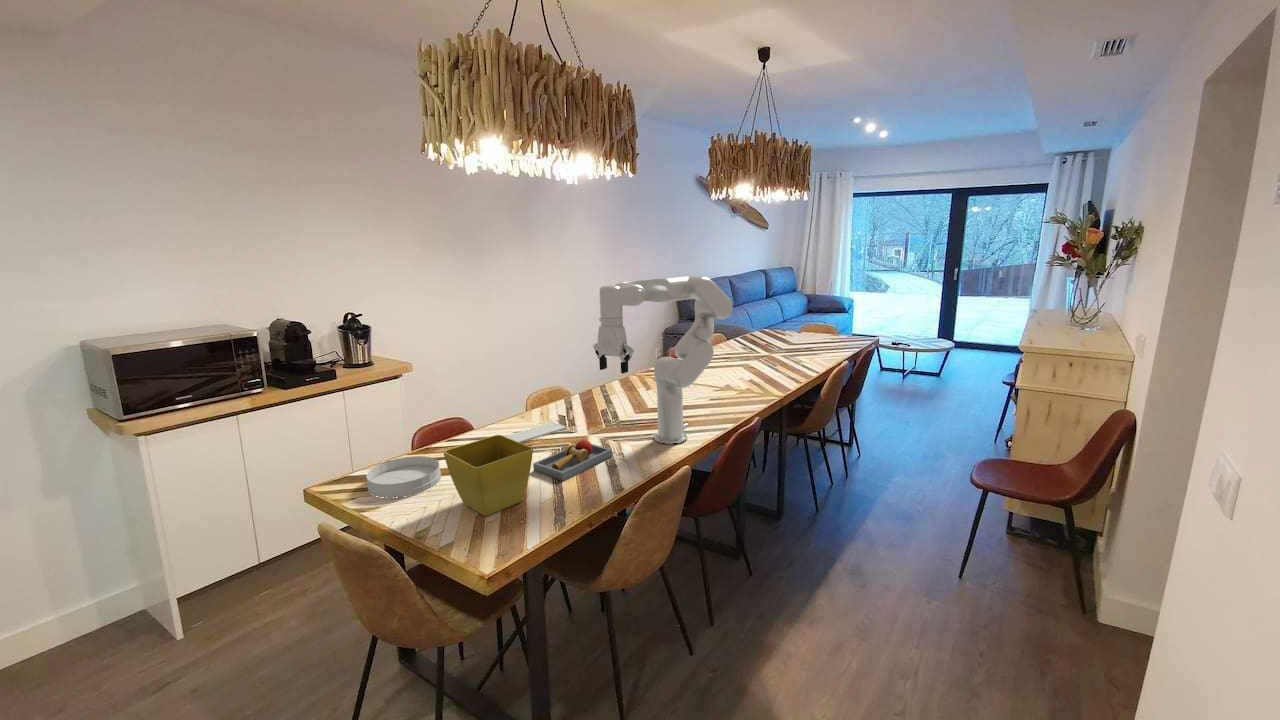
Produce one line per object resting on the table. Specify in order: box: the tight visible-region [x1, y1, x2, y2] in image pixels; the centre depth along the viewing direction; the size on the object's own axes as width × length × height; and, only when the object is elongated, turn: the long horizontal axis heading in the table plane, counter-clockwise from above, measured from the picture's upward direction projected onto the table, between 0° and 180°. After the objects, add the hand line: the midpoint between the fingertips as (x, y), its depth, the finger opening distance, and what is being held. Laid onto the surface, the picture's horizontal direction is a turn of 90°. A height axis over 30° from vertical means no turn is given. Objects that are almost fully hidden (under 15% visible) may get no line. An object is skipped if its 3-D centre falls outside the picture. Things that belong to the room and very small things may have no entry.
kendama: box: [552, 439, 592, 470], centre depth 190 cm, size 8×6×18 cm
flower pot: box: [442, 434, 534, 517], centre depth 164 cm, size 19×19×17 cm
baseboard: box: [504, 419, 567, 443], centre depth 220 cm, size 31×3×12 cm
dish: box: [366, 455, 442, 499], centre depth 180 cm, size 22×22×5 cm
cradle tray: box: [532, 443, 613, 482], centre depth 191 cm, size 24×14×3 cm, turn 142°
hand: (613, 370), depth 193 cm, fingers open, 9 cm apart
